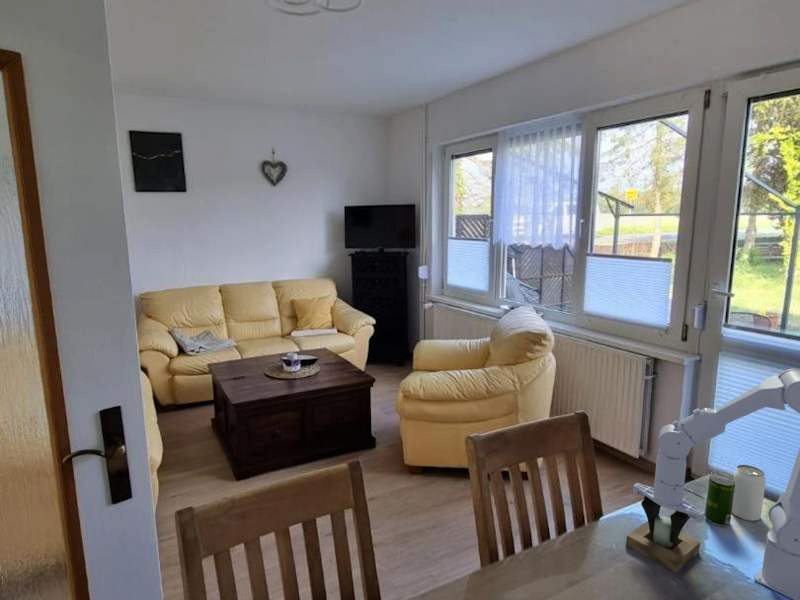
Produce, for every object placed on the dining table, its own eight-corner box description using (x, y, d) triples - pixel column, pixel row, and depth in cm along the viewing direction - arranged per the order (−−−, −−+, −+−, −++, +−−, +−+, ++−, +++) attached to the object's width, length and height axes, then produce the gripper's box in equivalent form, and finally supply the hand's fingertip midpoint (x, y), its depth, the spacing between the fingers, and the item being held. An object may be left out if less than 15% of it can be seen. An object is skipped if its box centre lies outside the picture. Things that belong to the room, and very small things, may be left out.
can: (734, 519, 123) (740, 474, 122) (725, 505, 130) (731, 462, 128) (764, 524, 122) (771, 478, 120) (754, 509, 128) (760, 466, 126)
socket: (698, 552, 111) (700, 542, 110) (676, 572, 104) (677, 561, 104) (649, 527, 119) (650, 518, 119) (625, 545, 113) (626, 535, 112)
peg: (676, 542, 111) (678, 522, 110) (667, 549, 109) (670, 528, 108) (658, 533, 114) (660, 513, 113) (649, 540, 112) (651, 520, 111)
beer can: (733, 522, 122) (739, 476, 120) (725, 530, 119) (731, 484, 117) (709, 512, 126) (714, 468, 124) (700, 519, 123) (706, 474, 121)
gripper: (713, 488, 106) (706, 545, 108) (645, 461, 117) (640, 514, 119) (699, 498, 101) (692, 558, 104) (630, 470, 113) (625, 524, 115)
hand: (663, 535), depth 111 cm, fingers closed on peg, 4 cm apart
